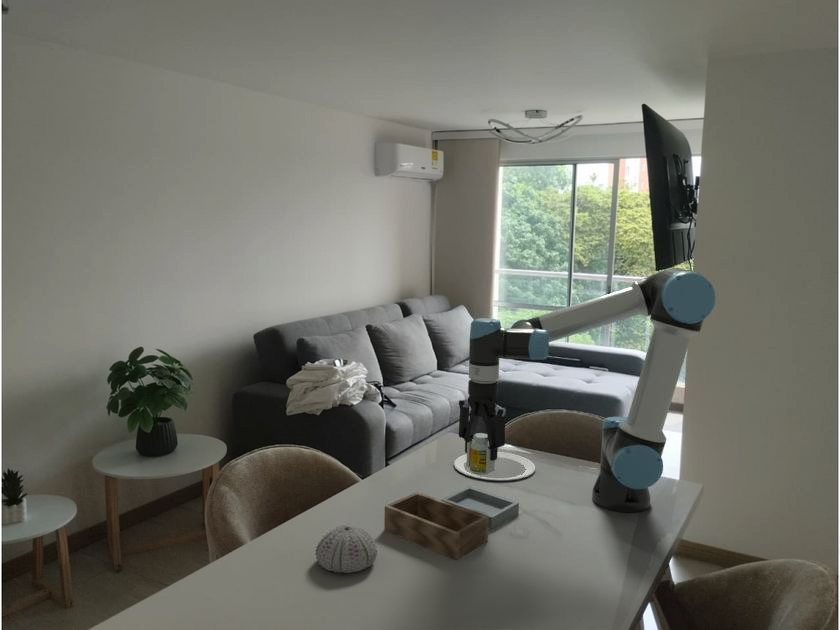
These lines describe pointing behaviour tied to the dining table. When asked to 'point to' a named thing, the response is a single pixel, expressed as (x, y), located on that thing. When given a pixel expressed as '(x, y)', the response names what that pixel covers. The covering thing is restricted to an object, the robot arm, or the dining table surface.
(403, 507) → the walnut box
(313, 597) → the dining table surface
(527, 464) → the white flat ring
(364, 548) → the sea urchin shell
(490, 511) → the slate tray
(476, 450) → the supplement bottle
